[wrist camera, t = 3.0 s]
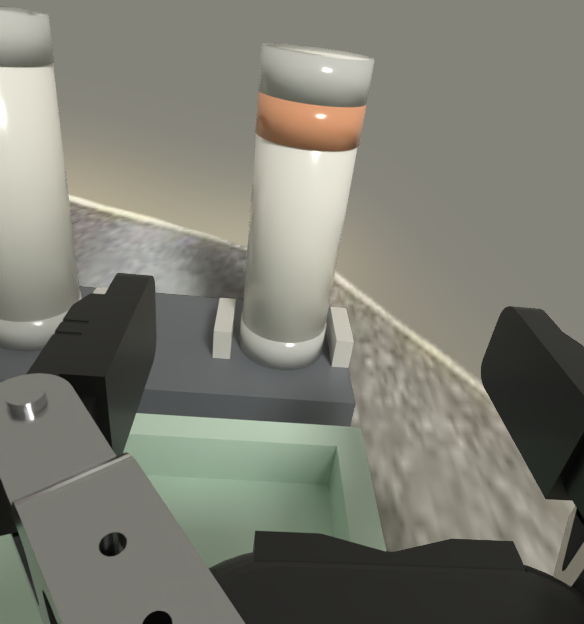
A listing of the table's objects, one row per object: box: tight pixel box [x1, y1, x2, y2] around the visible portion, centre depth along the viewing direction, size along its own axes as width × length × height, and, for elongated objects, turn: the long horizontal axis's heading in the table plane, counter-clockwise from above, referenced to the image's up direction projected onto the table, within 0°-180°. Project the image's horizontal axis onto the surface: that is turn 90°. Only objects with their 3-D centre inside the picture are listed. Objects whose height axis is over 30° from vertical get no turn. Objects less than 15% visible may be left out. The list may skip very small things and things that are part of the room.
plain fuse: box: [0, 6, 82, 351], centre depth 21 cm, size 4×4×13 cm
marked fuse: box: [239, 43, 375, 370], centre depth 22 cm, size 4×4×13 cm
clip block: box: [0, 286, 355, 427], centre depth 24 cm, size 18×8×3 cm, turn 92°
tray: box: [0, 413, 386, 624], centre depth 14 cm, size 14×11×3 cm
